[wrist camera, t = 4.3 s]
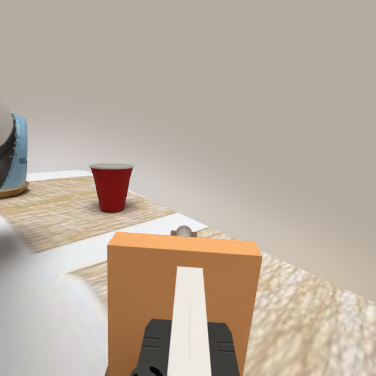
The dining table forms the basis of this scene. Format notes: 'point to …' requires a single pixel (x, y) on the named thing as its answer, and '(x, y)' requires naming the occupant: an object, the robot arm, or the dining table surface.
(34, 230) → the dining table surface
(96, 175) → the plastic cup
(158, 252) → the upright orange slab
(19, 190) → the plant saucer
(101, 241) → the dining table surface
